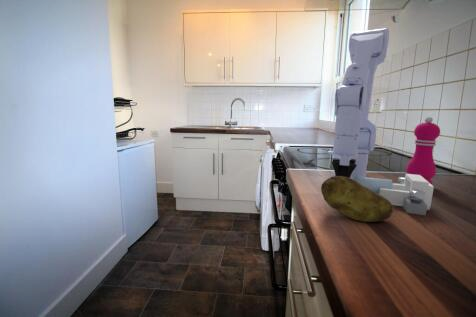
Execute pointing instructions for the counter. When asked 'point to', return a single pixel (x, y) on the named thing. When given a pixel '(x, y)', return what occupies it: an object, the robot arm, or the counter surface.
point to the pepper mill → (424, 150)
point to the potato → (355, 200)
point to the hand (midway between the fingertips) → (341, 187)
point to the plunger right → (416, 196)
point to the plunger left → (401, 180)
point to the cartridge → (374, 183)
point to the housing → (401, 193)
